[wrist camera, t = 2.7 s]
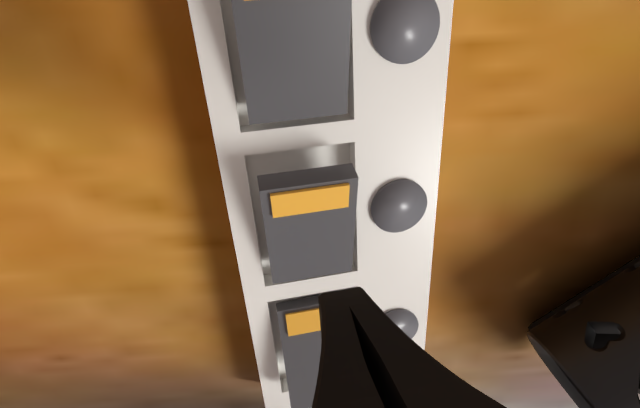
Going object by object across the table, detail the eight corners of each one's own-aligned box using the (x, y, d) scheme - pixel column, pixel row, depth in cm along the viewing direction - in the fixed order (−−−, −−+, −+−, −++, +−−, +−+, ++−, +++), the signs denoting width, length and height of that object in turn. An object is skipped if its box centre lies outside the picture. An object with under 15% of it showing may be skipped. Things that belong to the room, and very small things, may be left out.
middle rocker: (347, 255, 21) (352, 273, 20) (270, 268, 20) (273, 286, 20) (352, 163, 17) (359, 180, 16) (256, 175, 16) (259, 193, 16)
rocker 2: (357, 385, 23) (363, 398, 22) (289, 399, 23) (291, 414, 22) (348, 290, 22) (353, 299, 21) (275, 303, 22) (277, 313, 20)
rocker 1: (341, 102, 17) (348, 115, 16) (247, 112, 17) (249, 127, 16) (346, -64, 13) (355, -57, 12) (222, -58, 13) (223, -50, 12)
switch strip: (407, 354, 28) (422, 387, 26) (264, 384, 27) (267, 421, 25) (434, -136, 16) (469, -159, 13) (169, -129, 14) (157, -154, 12)
